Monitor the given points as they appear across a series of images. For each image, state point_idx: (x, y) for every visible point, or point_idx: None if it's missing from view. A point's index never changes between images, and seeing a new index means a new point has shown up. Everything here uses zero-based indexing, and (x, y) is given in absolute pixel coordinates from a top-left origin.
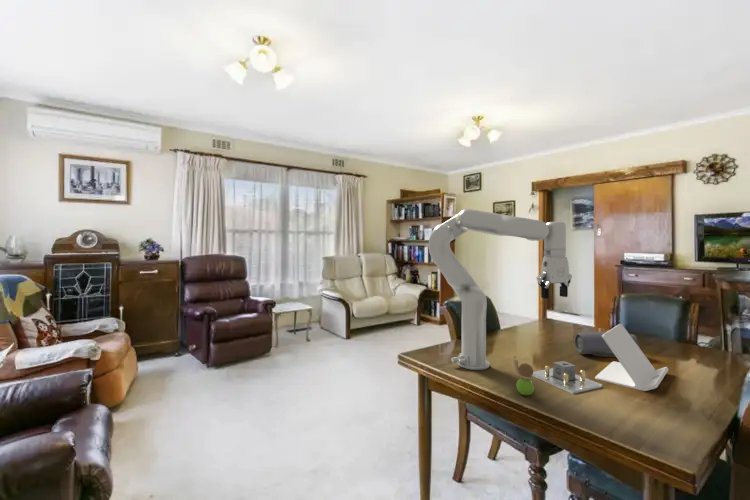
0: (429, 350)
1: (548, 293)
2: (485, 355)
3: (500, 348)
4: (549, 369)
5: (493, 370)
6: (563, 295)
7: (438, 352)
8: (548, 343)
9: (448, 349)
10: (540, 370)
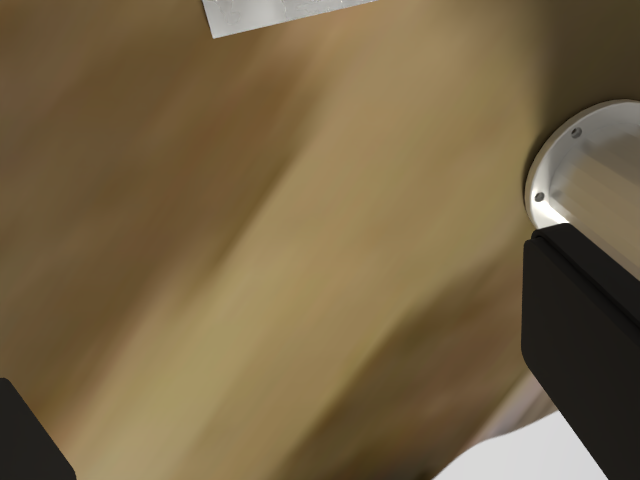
0: None
1: (624, 287)
2: (599, 165)
3: (323, 369)
4: (291, 10)
5: (560, 90)
6: (28, 435)
7: None
8: None
9: None
10: (356, 4)
